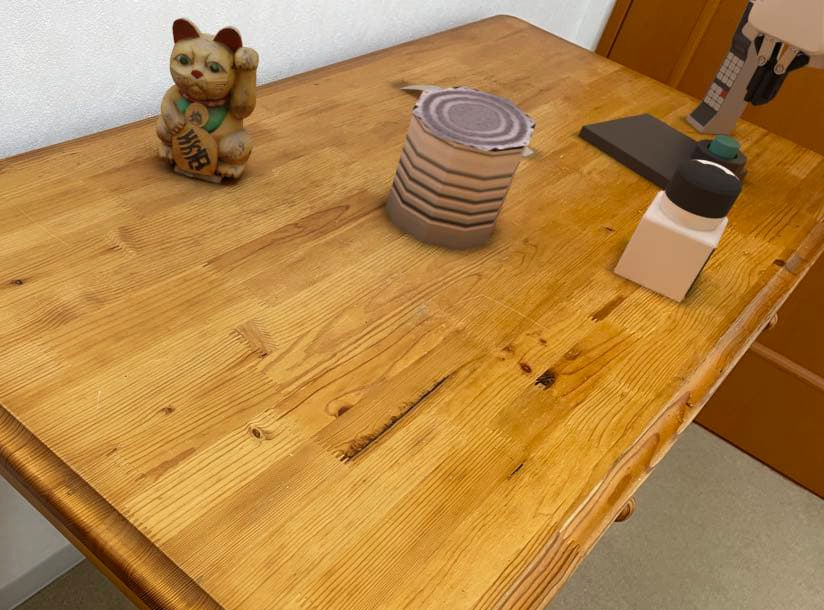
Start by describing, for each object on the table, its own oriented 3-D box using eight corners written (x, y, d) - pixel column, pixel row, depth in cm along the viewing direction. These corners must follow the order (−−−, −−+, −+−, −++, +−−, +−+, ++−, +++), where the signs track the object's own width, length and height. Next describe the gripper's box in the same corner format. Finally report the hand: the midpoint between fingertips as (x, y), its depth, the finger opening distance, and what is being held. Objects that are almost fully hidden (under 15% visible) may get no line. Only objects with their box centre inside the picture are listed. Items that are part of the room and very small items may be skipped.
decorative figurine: (146, 176, 83) (157, 20, 73) (164, 139, 90) (176, -9, 79) (242, 197, 84) (266, 44, 74) (253, 158, 90) (277, 13, 80)
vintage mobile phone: (684, 123, 119) (786, -72, 102) (713, 125, 121) (818, -67, 104) (699, 136, 117) (806, -62, 100) (728, 137, 118) (838, -57, 101)
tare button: (738, 158, 105) (746, 145, 104) (724, 162, 104) (732, 148, 102) (717, 146, 107) (724, 133, 106) (703, 149, 105) (710, 136, 104)
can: (514, 245, 86) (560, 136, 78) (426, 262, 81) (466, 146, 73) (447, 187, 93) (484, 81, 85) (362, 199, 88) (393, 87, 79)
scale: (741, 184, 107) (756, 159, 105) (677, 203, 100) (692, 176, 98) (641, 126, 116) (653, 101, 113) (576, 139, 109) (587, 113, 106)
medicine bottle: (679, 307, 83) (746, 199, 75) (611, 275, 85) (668, 168, 77) (694, 276, 88) (757, 172, 80) (628, 248, 90) (684, 143, 82)
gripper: (934, -46, 86) (828, 126, 98) (802, -91, 94) (719, 72, 106) (901, -43, 82) (795, 134, 94) (766, -91, 90) (685, 79, 103)
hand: (755, 101), depth 100 cm, fingers closed
